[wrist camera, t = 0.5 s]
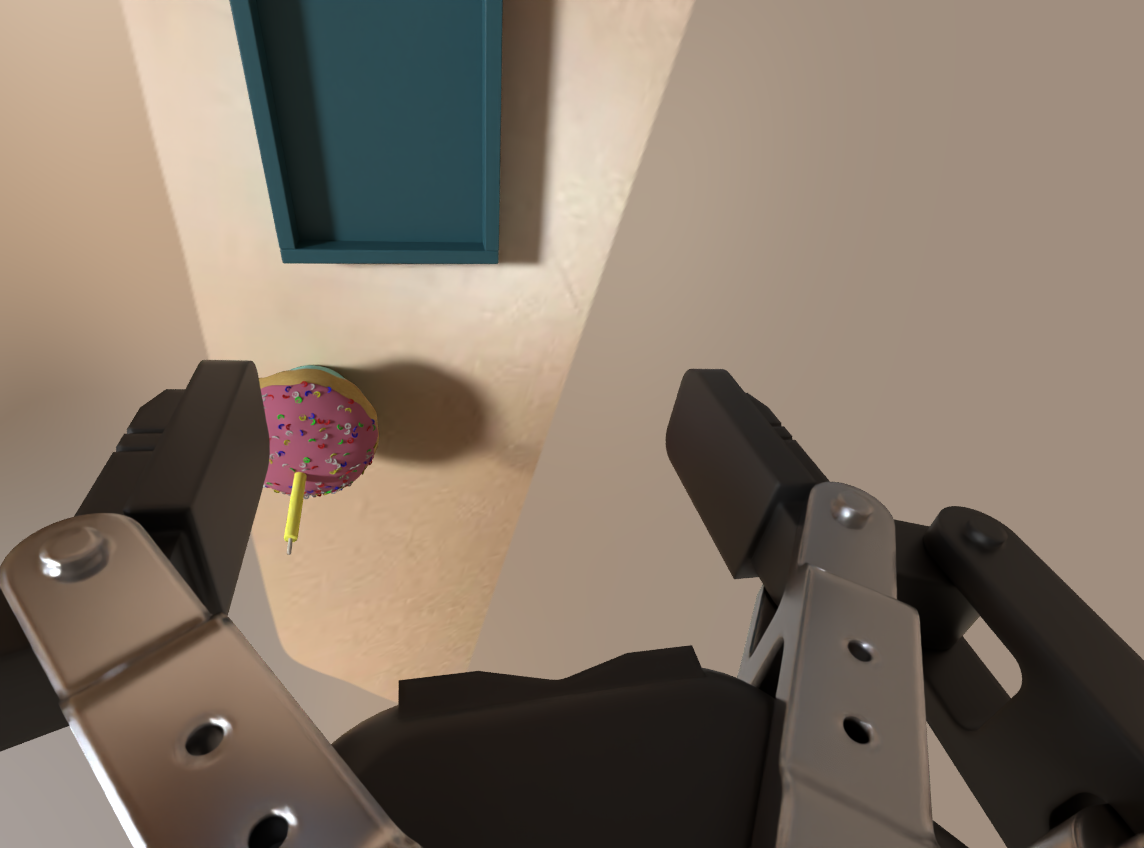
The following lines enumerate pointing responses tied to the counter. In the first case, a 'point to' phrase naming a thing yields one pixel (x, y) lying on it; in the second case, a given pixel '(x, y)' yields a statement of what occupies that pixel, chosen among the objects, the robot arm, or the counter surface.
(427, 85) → the tray
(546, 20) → the counter surface
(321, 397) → the cupcake
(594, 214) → the counter surface
